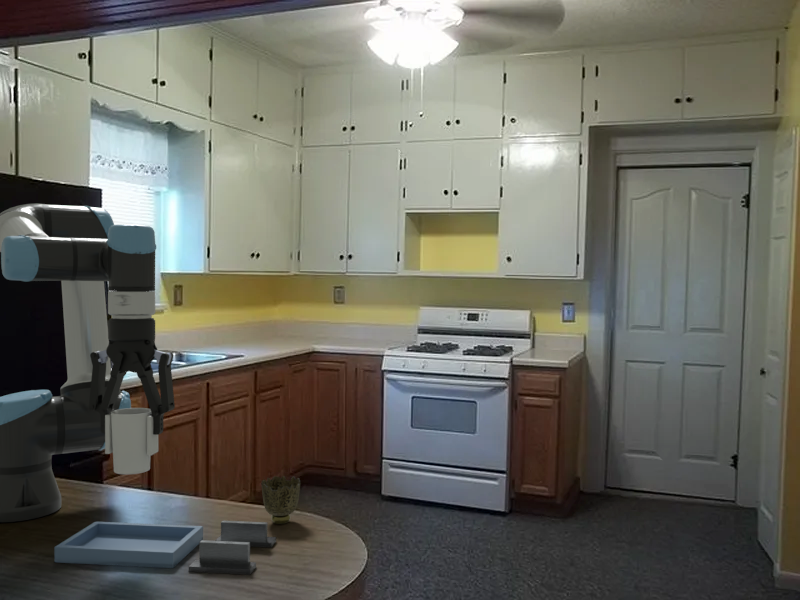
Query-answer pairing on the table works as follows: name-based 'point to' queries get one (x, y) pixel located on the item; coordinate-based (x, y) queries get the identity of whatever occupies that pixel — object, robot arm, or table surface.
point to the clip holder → (232, 548)
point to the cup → (280, 497)
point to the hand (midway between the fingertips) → (132, 452)
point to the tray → (130, 544)
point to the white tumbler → (130, 440)
